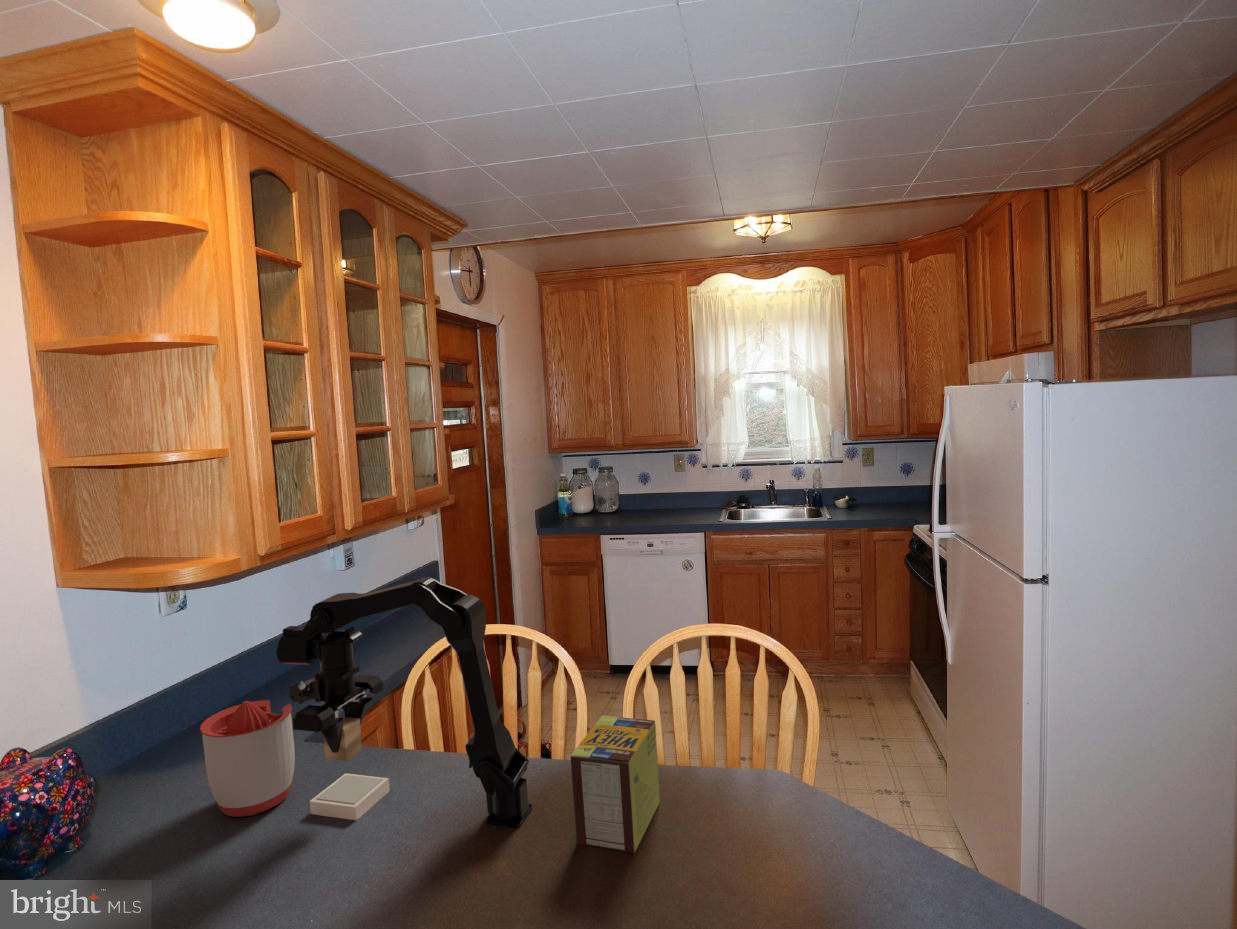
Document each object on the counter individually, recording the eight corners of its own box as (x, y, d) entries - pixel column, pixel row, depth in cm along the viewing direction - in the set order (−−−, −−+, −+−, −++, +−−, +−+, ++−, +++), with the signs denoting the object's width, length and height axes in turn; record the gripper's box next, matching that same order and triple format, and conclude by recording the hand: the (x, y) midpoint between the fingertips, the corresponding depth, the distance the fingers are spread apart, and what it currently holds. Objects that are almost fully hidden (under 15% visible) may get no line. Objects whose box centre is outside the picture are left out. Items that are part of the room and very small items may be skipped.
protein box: (660, 802, 128) (656, 719, 127) (635, 854, 114) (629, 762, 112) (606, 794, 132) (601, 714, 130) (574, 845, 117) (568, 754, 116)
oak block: (362, 749, 133) (359, 718, 133) (346, 761, 129) (344, 729, 128) (341, 746, 134) (339, 716, 134) (325, 758, 130) (323, 727, 130)
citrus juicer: (325, 783, 142) (315, 686, 140) (247, 832, 126) (235, 724, 125) (270, 770, 148) (260, 677, 147) (190, 815, 133) (178, 712, 131)
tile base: (389, 790, 137) (388, 777, 137) (356, 820, 128) (355, 806, 128) (346, 785, 140) (345, 772, 140) (310, 814, 131) (309, 800, 131)
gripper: (333, 644, 141) (339, 720, 143) (262, 681, 123) (270, 766, 125) (381, 647, 138) (387, 724, 140) (316, 685, 120) (324, 773, 122)
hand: (343, 745), depth 131 cm, fingers closed on oak block, 4 cm apart
